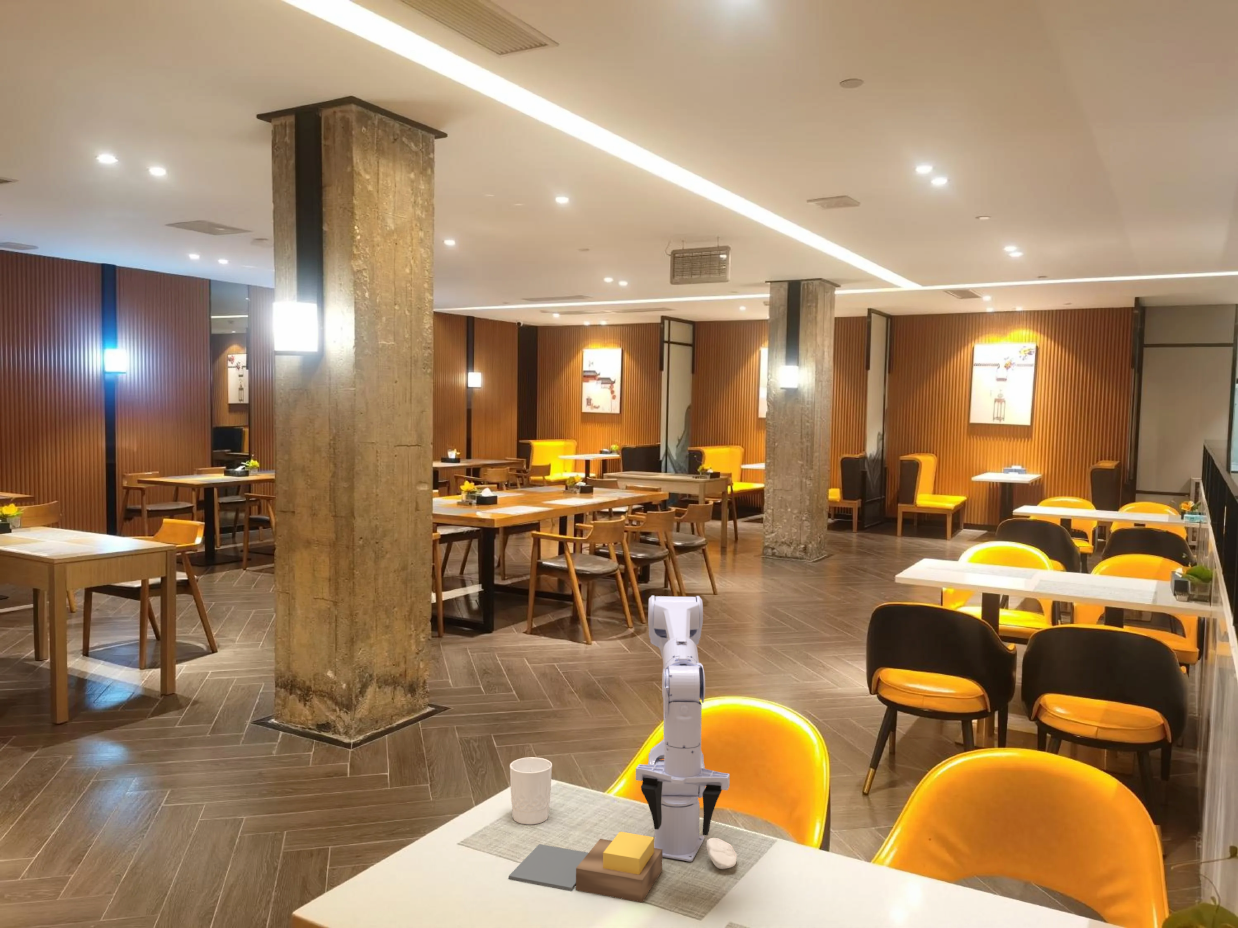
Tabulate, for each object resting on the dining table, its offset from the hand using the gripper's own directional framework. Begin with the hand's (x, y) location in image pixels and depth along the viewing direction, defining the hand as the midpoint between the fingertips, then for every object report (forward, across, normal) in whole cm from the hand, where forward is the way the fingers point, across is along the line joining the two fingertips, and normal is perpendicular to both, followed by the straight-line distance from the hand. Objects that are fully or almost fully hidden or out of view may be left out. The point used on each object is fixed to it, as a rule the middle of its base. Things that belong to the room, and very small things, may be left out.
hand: (681, 829), depth 139 cm
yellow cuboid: (+6, -9, +2) cm, 11 cm away
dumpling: (+11, +4, +12) cm, 17 cm away
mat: (+10, -22, +3) cm, 25 cm away
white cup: (+10, -33, +21) cm, 40 cm away
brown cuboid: (+10, -11, +3) cm, 15 cm away
